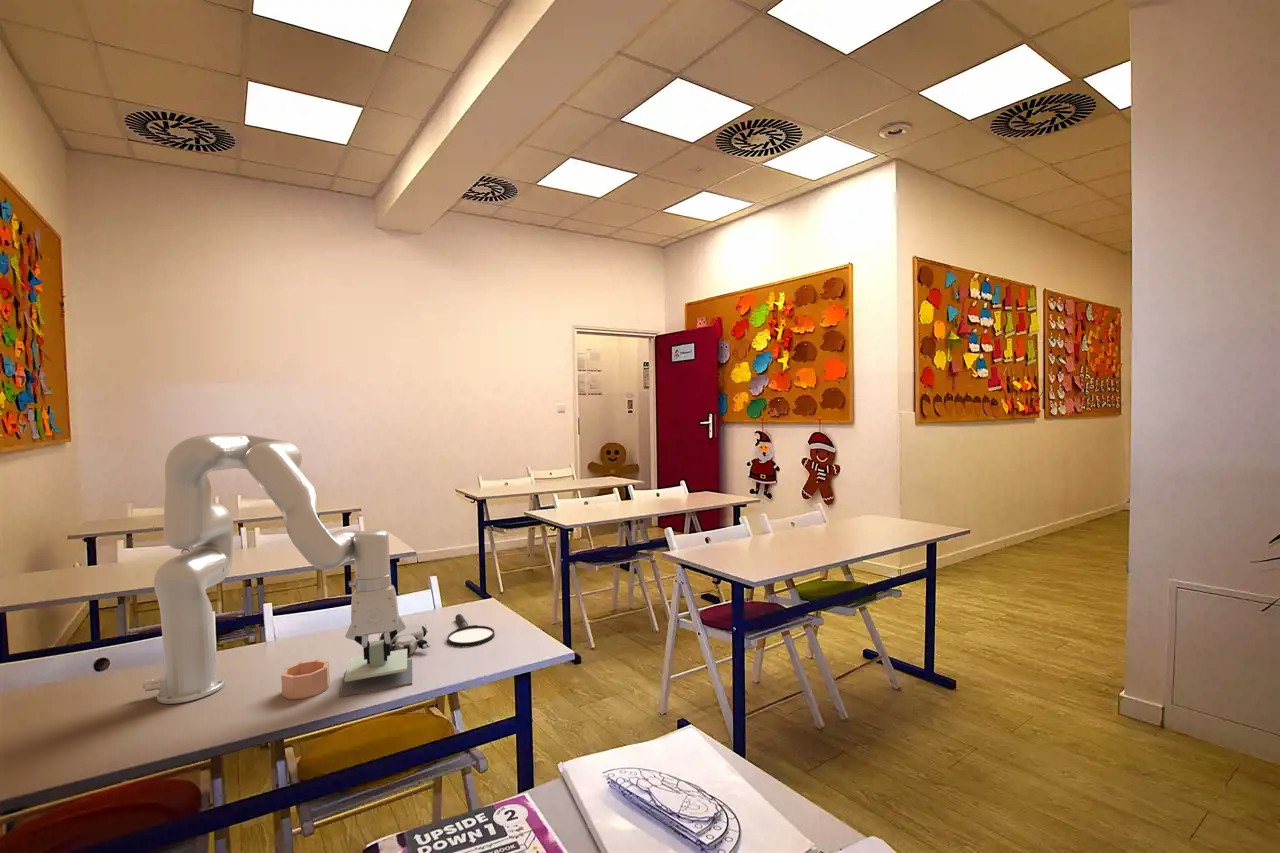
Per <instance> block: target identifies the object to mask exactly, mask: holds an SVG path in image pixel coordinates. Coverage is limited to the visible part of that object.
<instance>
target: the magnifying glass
mask: <svg viewBox="0 0 1280 853" xmlns="http://www.w3.org/2000/svg"><path fill="white" fill-rule="evenodd" d="M454 618H455V621H456V622H457V624H458V628H457V629H456V630H453V631H452V632H451V631H450V633H449V634H448V635H447V638H446V639H447V644H448V645H449V646H452V645H453V647H457V646H460V647H459V648H466V647H465V646H469V647H475V646H474V645H476V646H479V645H478V644H480V645H482V643H483V644H486V643H488V642H489V641H491V640H493V639H494V638H495V636H496V635H495V630H494V629H493V628H492V627H490V626H487V625H478V624H474V625H472V624H471V625H468V622H467V620H466V619H465V618H464V616H463V614H460V613H458V614H456V616H455V617H454ZM463 646H464V647H463Z"/></svg>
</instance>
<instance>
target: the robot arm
mask: <svg viewBox="0 0 1280 853" xmlns="http://www.w3.org/2000/svg"><path fill="white" fill-rule="evenodd" d="M302 456H303V455H302V454H301V451H300V449H299V448H298V447H297V446H296V445H295V444H294V443H292V442H289V441H287V440H282V439H275V438H268V437H263V436H257V435H251V434H246V433H238V432H235V433H234V432H229V433H228V432H227V433H209V434H208V433H207V434H200V435H196V436H191V437H189V438H188V437H187V439H184V440H182V441H180V442H179V443H177V444H176V445H175V446H174V447H173V448H172V449H170V451H169V452H168V454H167V456H166V459H165V464H164V481H165V484H164V485H165V492H164V494H165V495H164V508H163V509H164V511H163V539H164V541H165V543H166V545H168V546H169V547H170V548H172V549H174V550H182V551H183V550H184V551H185V550H189V549H190V551H188V552H185V553H183V554H180V555H177V556H174V557H172V558H170V559H168V560H166V561H165V562H163V563H162V564H161V565H160V567H159V568H158V569H157V570H156V571H155V572H156V573H155V574H154V577H153V578H154V579H153V587H154V592H155V596H156V598H157V601H158V605H159V606H158V607H159V614H160V623H161V624H160V625H161V635H162V637H161V638H162V639H161V640H162V654H163V672H164V675H162V676H161V677H159V678H150V679H145V680H143V682H142V689H143V690H144V691H145V692H151V691H152V692H153V691H158V692H157V694H156V700H157V702H158V703H161V704H164V705H166V704H168V705H171V704H174V705H175V704H181V703H187V702H190V701H195V700H198V699H202V698H206V697H208V696H210V695H212V694H214V693H216V692H218V691H219V690H221V689H222V688H223V687H224V686H225V683H226V680H225V677H224V676H222V675H219V674H217V663H216V662H217V660H216V658H217V657H216V644H215V624H214V612H213V607H212V603H211V601H210V598H209V596H208V594H207V589H209V588H210V587H211V588H212V587H213V586H215V585H217V584H220V583H221V582H222V581H224V580H225V579H226V578H227V576H228V575H229V573H230V571H231V570H232V564H233V553H234V552H233V550H234V549H233V548H234V547H233V546H234V520H233V516H232V514H231V512H230V510H228V508H227V507H226V506H224V505H223V504H220V503H218V502H212V500H211V498H212V486H211V482H210V479H209V477H208V474H209V473H211V472H215V471H224V470H229V469H230V470H231V469H242V470H247V471H248V472H249V474H250V475H251V476H252V478H253V479H254V480H255V481H256V482H257V484H258V485H259V486H260V487H261V489H262V490H263V491H264V493H265V494H266V495H267V496H268V497H269V498H270V499H271V501H272V502H273V503H274V504H275V505H276V507H277V508H278V509H279V510H280V511H279V512H281V515H282V519H283V520H282V521H283V523H284V525H285V529H286V532H287V535H288V537H289V539H290V541H291V542H292V544H293V545H294V547H295V548H296V549H297V550H298V552H299V553H300V555H302V556H303V557H304V559H305V560H306V561H307V562H308V563H309V565H312V566H313V567H314V568H316V569H318V570H322V571H331V570H334V569H336V568H338V567H340V566H341V565H343V564H345V563H347V562H349V561H352V560H354V569H355V578H354V579H353V580H350V581H348V586H349V587H348V588H355V590H353V592H352V595H351V602H350V603H351V607H350V625H349V626H348V628H347V631H346V633H345V636H344V637H345V638H346V639H349V640H351V641H354V642H356V643H357V644H359V645H360V646H361V647H362V648H363V656H364V660H366V659H367V664H370V656H369V647H370V641H369V636H370V635H376V634H379V633H380V634H382V633H384V637H385V639H384V644H383V648H384V661H387V657H388V656H390V642H391V640H392V639H393V638H394V637H395V636H396V635H397V634H398V633H400V632H401V631H403V630H404V629H405V628H406V625H405V622H404V621H403V619H402V617H401V616H400V615H399V614H400V613H399V606H398V604H399V603H398V597H397V593H396V588H395V586H394V585H393V584H392V577H391V563H390V562H391V561H390V560H391V559H390V558H391V557H390V541H389V539H390V538H389V533H388V532H387V531H386V530H385V529H366V530H353V529H339V530H336V531H333V532H330V531H328V530H327V529H326V527H325V526H324V525H323V523H322V521H320V519H319V517H318V514H317V512H316V499H317V489H316V487H315V486H314V485H313V484H312V483H311V481H310V480H309V479H308V478H307V477H306V475H305V474H304V473H303V471H302V470H301V469H300V466H301V464H302V460H303V458H302ZM390 631H391V632H390Z"/></svg>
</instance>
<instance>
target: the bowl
mask: <svg viewBox="0 0 1280 853" xmlns="http://www.w3.org/2000/svg"><path fill="white" fill-rule="evenodd" d="M280 677H281V696H282V697H284V698H285V699H287V700H303V699H308V698H311V697H315V696H317V695H319V694H322V693H324V692H326V690H328V688H329V686H330V682H331V681H330V680H331V679H330V677H331V676H330V662H329V661H327V660H321V659H313V660H308V661H307V660H306V661H301V662H297V663H296V664H293V665H290V666H287V667H286V668H284V669H283V671H282V674H281V676H280Z"/></svg>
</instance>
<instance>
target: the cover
mask: <svg viewBox="0 0 1280 853" xmlns="http://www.w3.org/2000/svg"><path fill="white" fill-rule="evenodd" d="M369 643H370V647H369V656H370V664H367V659H366V660H364V655H360V656H353V657H350V658H349V660H348V664H347V668H346V670H347V671H346V670H345V673H346V675H345V674H344V677H345V679H344V678H343V681H344V680H345V682H347V681H353V680H358V679H364V678H370V677H375V676H381V675H387V674H393V673H398V672H404V671H407V660H408V655H407V649H402V650H396V649H395V650H394V651H390V656H388V657H387V661H384V648H383V644H384V640H379V639H378V640H374V641H373V640H372V641H369Z"/></svg>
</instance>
